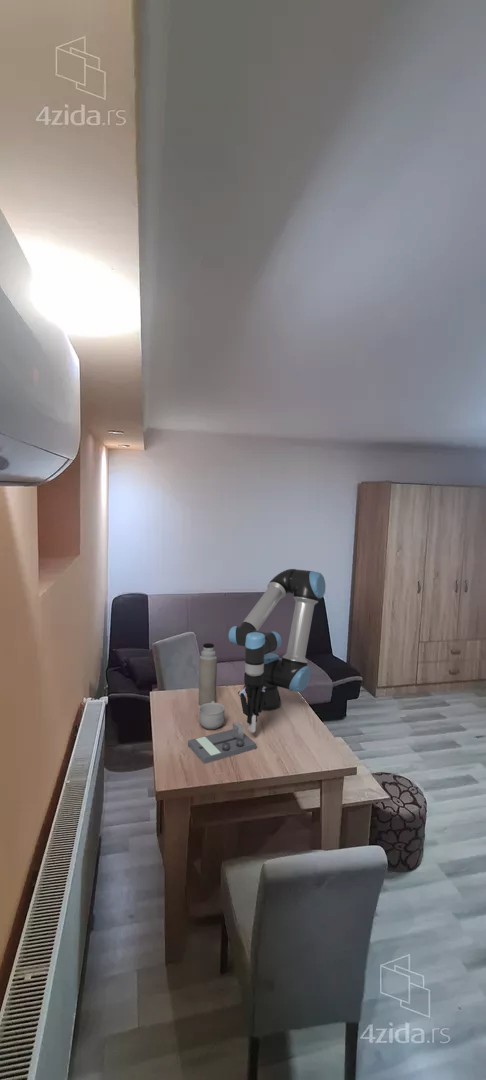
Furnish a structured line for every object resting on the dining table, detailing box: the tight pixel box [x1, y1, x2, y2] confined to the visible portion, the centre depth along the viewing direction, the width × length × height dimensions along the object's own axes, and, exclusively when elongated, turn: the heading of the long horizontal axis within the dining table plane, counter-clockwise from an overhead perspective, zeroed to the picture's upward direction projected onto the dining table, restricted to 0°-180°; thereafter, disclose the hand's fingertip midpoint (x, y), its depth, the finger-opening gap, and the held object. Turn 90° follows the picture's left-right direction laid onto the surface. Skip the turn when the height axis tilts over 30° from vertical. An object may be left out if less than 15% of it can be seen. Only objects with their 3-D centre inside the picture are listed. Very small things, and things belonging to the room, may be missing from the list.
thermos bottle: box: [198, 642, 218, 707], centre depth 213 cm, size 8×8×28 cm
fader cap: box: [232, 721, 245, 739], centre depth 180 cm, size 2×4×5 cm, turn 31°
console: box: [187, 728, 257, 765], centre depth 176 cm, size 22×14×4 cm, turn 121°
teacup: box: [198, 701, 226, 731], centre depth 194 cm, size 14×11×8 cm
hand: (251, 730), depth 183 cm, fingers closed
